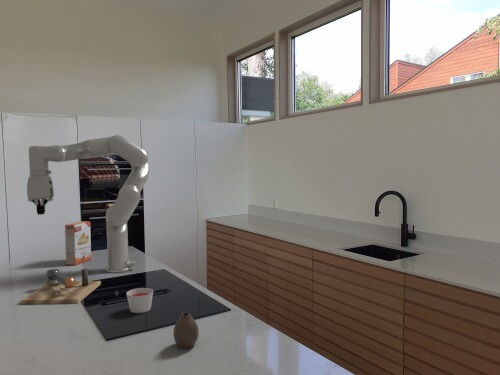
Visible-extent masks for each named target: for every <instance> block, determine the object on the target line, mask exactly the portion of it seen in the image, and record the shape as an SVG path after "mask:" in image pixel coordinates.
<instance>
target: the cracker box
mask: <svg viewBox="0 0 500 375" xmlns="http://www.w3.org/2000/svg"><path fill="white" fill-rule="evenodd" d="M64 234H65V237H64V239H65V241H64V242H65V266H77V265H79V264H81V263H84V262H88V261H89V260H92V251H91V250H92V241H91V238H92V236H91V235H92V234H91V221H89V220H88V221H86V220H85V221H84V220H83V221H82V220H81V221H77V222H73V223H68V224H65V225H64Z"/></svg>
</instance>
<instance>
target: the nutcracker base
mask: <svg viewBox="0 0 500 375" xmlns="http://www.w3.org/2000/svg"><path fill="white" fill-rule="evenodd" d="M88 271H89V270H88V268H83V269H81V280H80V281H79V280H78V281H75V280H74V287H71V288H65V285H63V284H61V283H60V282H58V281H56V280H54V279H47V278H46V284H45V285H43V286H42V287H40V288H38V289H36V290H35V291H33V292H32V293H30V294H28V295H26V296H25V297H23V298H22V299H20V302H19V303H20V305H45V304H46V305H47V304H48V305H49V304H50V305H52V304H54V305H57V304H58V305H59V304H79V303H80V302H81V301H82V300H84V299H85V298H86V297H88V296H89V295H90V294H91V293H92V292H93V291H95V290H96V289H97V288H98V287H99V286H101V284H102V282H101V280H92V281H91V280H89V272H88Z"/></svg>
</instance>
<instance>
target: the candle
mask: <svg viewBox="0 0 500 375" xmlns="http://www.w3.org/2000/svg"><path fill="white" fill-rule="evenodd" d="M153 297H154V289H152V288H148V287H139V288H133V289H130V290H128V291H126V298H127V302H128V306H129V311H130V312H131V313H134V314H142V313H146V312H147V313H148V312H149V311H150V310H151V308H152V303H153V302H152V301H153Z"/></svg>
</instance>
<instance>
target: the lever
mask: <svg viewBox="0 0 500 375" xmlns="http://www.w3.org/2000/svg"><path fill="white" fill-rule="evenodd" d="M46 275H47V276H46V279H54V280H56V281H58V282H60V283H61V284H63V285H65V288H71V287H74V281H75V277H73V276H72V277H71V276H69V275H66V274H64V273H62V272H60V269H59V268H51V269H48V270H46Z"/></svg>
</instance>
